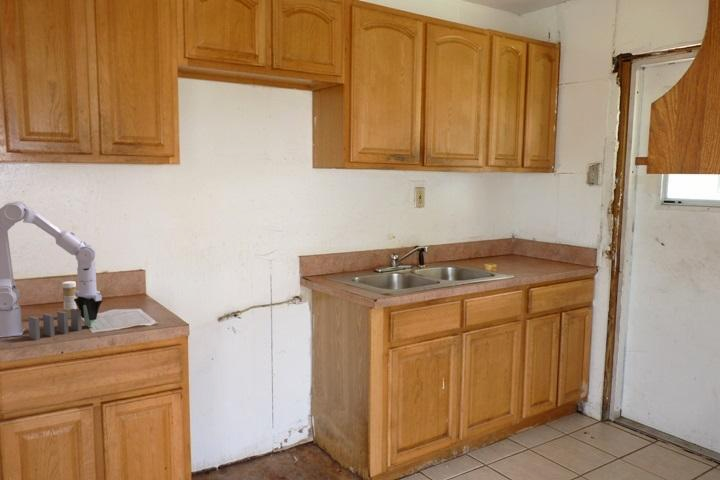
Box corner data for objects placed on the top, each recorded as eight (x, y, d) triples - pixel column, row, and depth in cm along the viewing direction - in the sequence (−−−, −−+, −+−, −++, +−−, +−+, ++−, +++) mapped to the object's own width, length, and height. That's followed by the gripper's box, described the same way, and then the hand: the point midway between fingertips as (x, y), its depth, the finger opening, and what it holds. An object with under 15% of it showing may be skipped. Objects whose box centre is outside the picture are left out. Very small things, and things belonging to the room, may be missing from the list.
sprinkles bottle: (67, 316, 211) (65, 280, 209) (79, 315, 211) (77, 280, 210) (61, 319, 206) (59, 283, 205) (74, 318, 207) (72, 282, 205)
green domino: (87, 324, 197) (86, 304, 196) (94, 326, 194) (93, 306, 193) (84, 324, 196) (83, 305, 195) (91, 326, 193) (90, 307, 192)
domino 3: (64, 334, 186) (63, 313, 185) (57, 331, 189) (56, 311, 188) (68, 333, 187) (67, 312, 186) (61, 331, 190) (60, 310, 189)
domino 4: (78, 331, 190) (77, 311, 189) (71, 329, 192) (70, 309, 192) (81, 330, 190) (80, 310, 190) (74, 328, 193) (73, 308, 193)
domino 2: (50, 337, 182) (49, 316, 182) (44, 334, 185) (42, 314, 184) (54, 336, 183) (53, 315, 183) (47, 333, 186) (46, 313, 185)
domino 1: (36, 340, 179) (35, 318, 178) (29, 337, 182) (28, 316, 181) (40, 339, 180) (39, 318, 179) (33, 336, 183) (32, 315, 182)
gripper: (109, 280, 192) (111, 319, 194) (87, 276, 201) (89, 313, 202) (89, 283, 187) (91, 323, 188) (67, 279, 195) (69, 317, 197)
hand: (89, 318), depth 195 cm, fingers closed on green domino, 5 cm apart
